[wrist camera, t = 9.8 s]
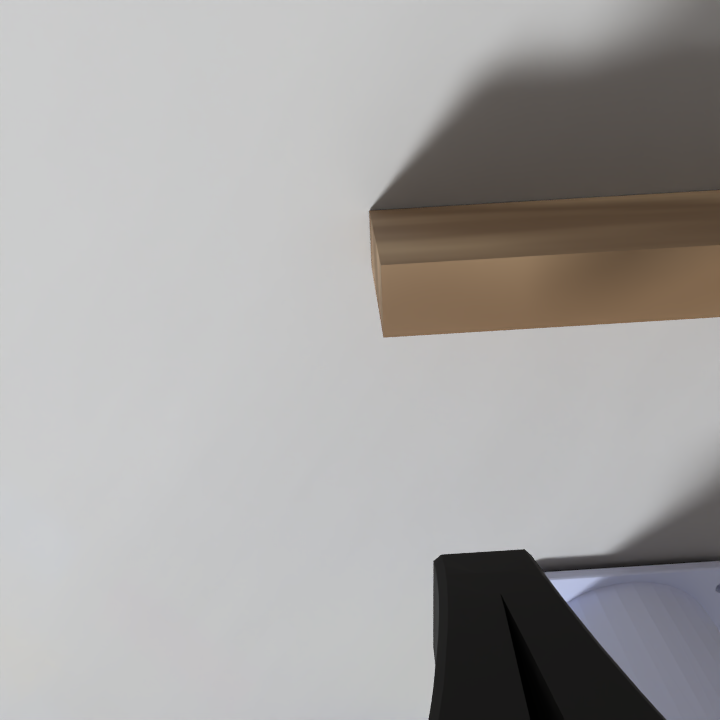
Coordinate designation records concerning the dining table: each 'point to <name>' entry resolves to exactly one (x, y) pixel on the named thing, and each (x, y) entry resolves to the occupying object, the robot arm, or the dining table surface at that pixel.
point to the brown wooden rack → (547, 263)
